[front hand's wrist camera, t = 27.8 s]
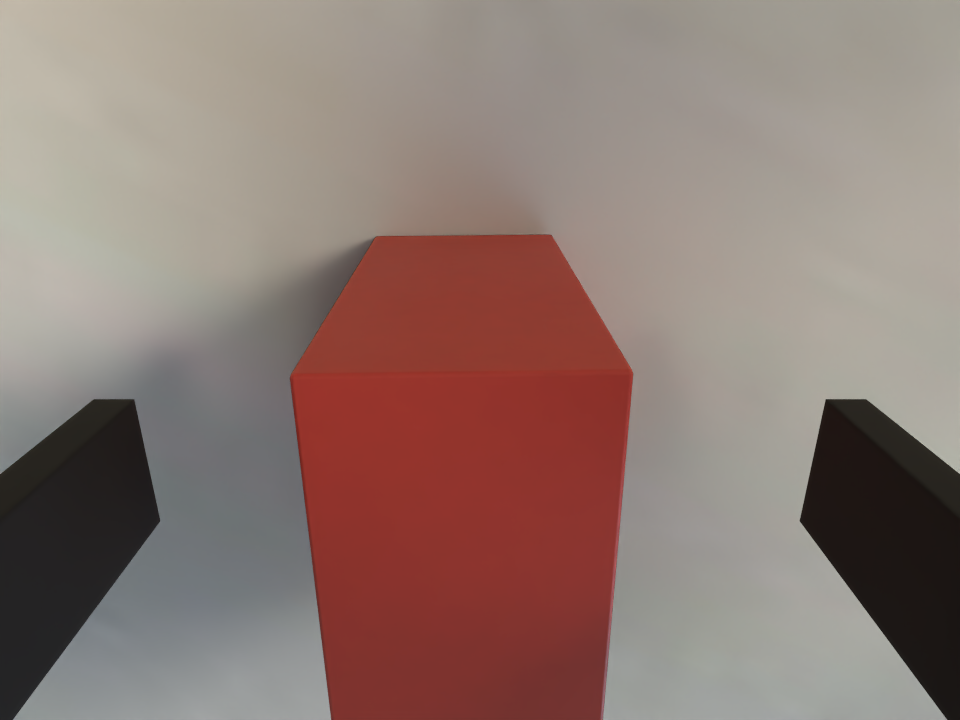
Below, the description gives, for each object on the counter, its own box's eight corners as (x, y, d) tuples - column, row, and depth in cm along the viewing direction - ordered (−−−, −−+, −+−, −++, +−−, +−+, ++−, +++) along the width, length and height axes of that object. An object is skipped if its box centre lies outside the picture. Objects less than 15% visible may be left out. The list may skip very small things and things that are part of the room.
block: (389, 457, 20) (331, 732, 11) (374, 235, 18) (287, 374, 9) (544, 455, 20) (603, 726, 12) (552, 234, 18) (634, 371, 9)
